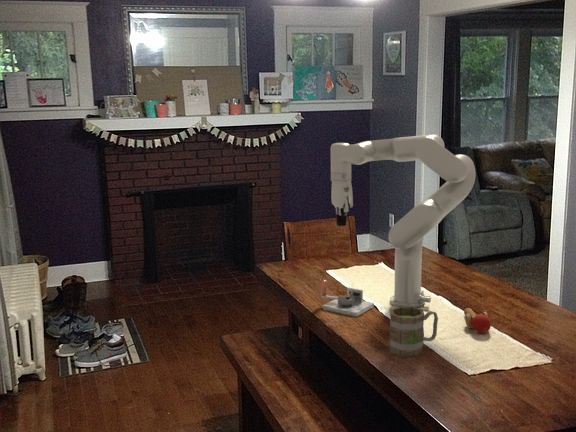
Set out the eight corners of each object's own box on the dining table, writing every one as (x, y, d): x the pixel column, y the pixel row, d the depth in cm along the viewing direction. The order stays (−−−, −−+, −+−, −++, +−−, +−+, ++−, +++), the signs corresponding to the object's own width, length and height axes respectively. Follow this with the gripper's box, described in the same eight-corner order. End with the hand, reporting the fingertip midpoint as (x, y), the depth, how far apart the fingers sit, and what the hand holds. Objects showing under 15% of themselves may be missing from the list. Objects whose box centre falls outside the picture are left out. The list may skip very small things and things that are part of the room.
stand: (373, 306, 235) (373, 291, 234) (356, 317, 226) (356, 300, 225) (340, 300, 244) (340, 284, 242) (322, 309, 234) (322, 293, 233)
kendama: (454, 320, 225) (469, 333, 207) (457, 302, 224) (473, 313, 206) (476, 323, 225) (493, 336, 207) (480, 305, 224) (497, 317, 206)
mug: (397, 359, 191) (398, 320, 189) (382, 345, 202) (382, 308, 199) (445, 351, 196) (446, 313, 193) (428, 338, 206) (429, 302, 203)
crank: (356, 301, 236) (356, 281, 235) (351, 306, 231) (351, 286, 229) (324, 297, 241) (324, 277, 239) (319, 302, 235) (318, 282, 234)
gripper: (359, 178, 235) (359, 228, 239) (342, 173, 249) (342, 220, 253) (339, 180, 233) (340, 230, 236) (324, 174, 246) (324, 222, 250)
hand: (341, 225), depth 244 cm, fingers closed
